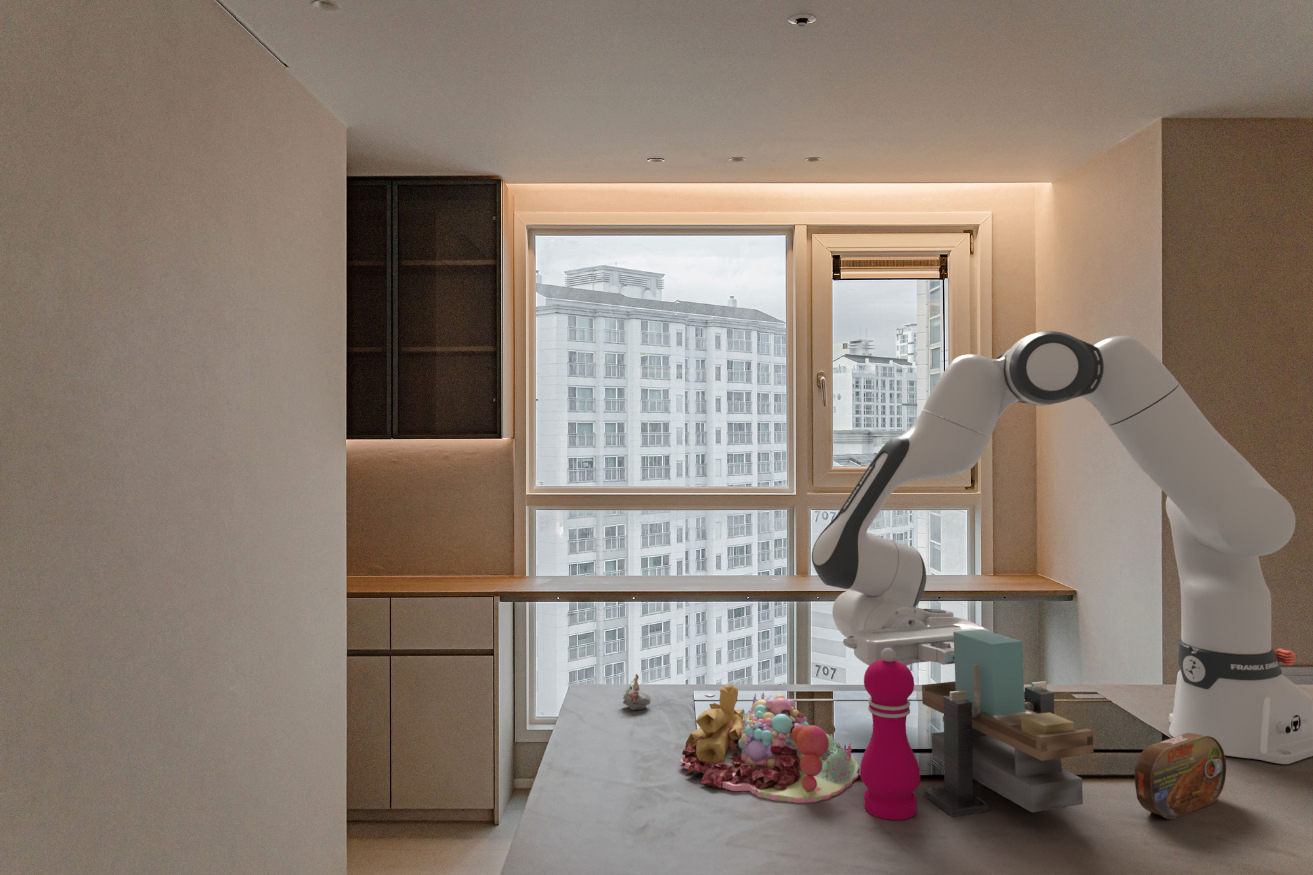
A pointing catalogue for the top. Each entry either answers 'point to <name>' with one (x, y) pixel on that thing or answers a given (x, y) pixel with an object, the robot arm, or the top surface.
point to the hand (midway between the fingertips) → (953, 658)
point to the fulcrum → (970, 750)
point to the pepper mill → (889, 741)
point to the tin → (1180, 775)
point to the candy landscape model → (767, 751)
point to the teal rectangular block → (990, 670)
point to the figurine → (636, 697)
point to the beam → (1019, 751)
